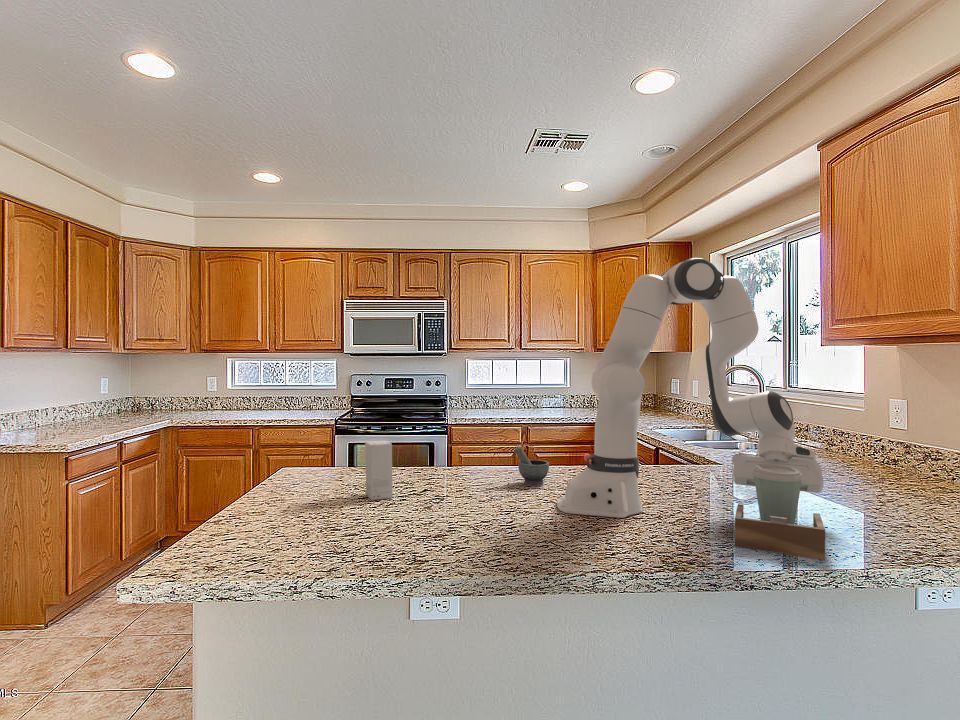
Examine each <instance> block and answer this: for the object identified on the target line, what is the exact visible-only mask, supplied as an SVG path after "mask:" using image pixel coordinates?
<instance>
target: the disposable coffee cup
mask: <svg viewBox="0 0 960 720" xmlns="http://www.w3.org/2000/svg"><path fill="white" fill-rule="evenodd" d="M752 475H753V476H754V481H755V486H754V487H755V494H756V499H757V506H758V512H759V517H760V518H759V520H763V521H770V516H776V517H784V518H787V524H795V525H796V523H795V522H796V518H797V511H798V505H799V499H800V492H801V491H800V488H801V482H802V480H803V477H802V473H801V472H800V471H799V470H797V469H795V468H791V467H788V466H784V465H778V464H772V463H759V464H756V465H755V469H754V470H753V474H752Z"/></svg>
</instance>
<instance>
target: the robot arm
mask: <svg viewBox="0 0 960 720" xmlns="http://www.w3.org/2000/svg"><path fill="white" fill-rule="evenodd" d="M692 303H699V304H700V305H701V306H702V307H703V309H704V310H705V312H706V313H707V317H708V321H709V324H710V327H711V339H710V341H709V343H708V344H707V345H706V347H705V365H706V371H707V379H708V386H709V393H710V394H709V395H710V399H711V400H710V401H711V416H712V422H713V423H712V424H713V426H714V428H715V429H716V430H717V431H718V432H719V433H721V434H723V435H725V436H726V437H734V436H738V435H743V434H745V433H752V432H753V433H754V432H756V431H757V434H758V441H757V453H754V452H738V453H735V454H733V455H732V457H731V463H732V465H733V467H732V474H731V476H732V477H731V478H732V481H733V483H734V484H735V485H737V486H747V487H748V486H749V487H755V481H754V476H753V475H752V474H753V470H754V469H755V465H756V464H759V463H772V464H778V465H784V466H788V467H791V468H795V469H797V470H799V471H800V472H801V473H802V477H803V480H802V482H801V488H800V492H805V493H815V494H819V493H822V492H823V490H824V476H823V471H822V468H821V465H820V463H819V461H817V459H816V458H817V456H816V452H815V451H814V449H809V448H806V447H803V446H800V445H797V444H795V441H794V439H795V437H796V429H795V421H794V417H793V415H794V414H793V410H792V407H791V405H790V403H789V402H788V400H787V399H786V398H785V397H783V396H782V395H781V394H780V393H777V392H775V391H773V390H769V391H763V392H758V393H752V394H748V395H743V396H739V397H731V396H730V393H729V387H728V379H727V373H726V372H727V371H726V368H727V364H728V363H729V361H730V360H731V359H732V358H733V357H735V356H737V355H738V354H739V353H741V352H742V351H744V350H745V349H747V348H748V347H749V346H750V345H751V344H752V343H753V342H754V341H755V339H756V338H757V336H758V333H759V324H758V323H759V322H758V318H757V314H756V313H755V309H754V307H753V304H752V301H751V299H750V296H749V294H748V293H747V291H746V289H745V287H744V285H743V284H742V282H741V280H740V279H738V278H737V277H736V276H731V275H724V274H723V273H721V271H719V269H718V268H717V267H716V266H715V265H714V263H712V262H711V261H709V260H707V259H705V258H701V257H691V258H688V259H686V260H684V261H681V262H679V263H677V264H675V265H673V266H672V267H671V268H669V269H667V270H666V271H665V272H664V273H662V274H661V275H660V276H659V275H656V274H650V273H649V274H648V273H647V274H643V275H640V276H638V277H637V278H636V280H635V281H634V283H633V284H632V286H631V287H630V288H629V291H628V293H627V295H626V297H625V299H624V301H623V303H622V307H621V309H620V311H619V314H618V316H617V320H616V322H615V325H614V327H613V330H612V332H611V335H610V338H609V339H608V341H607V344H606V346H605V347H604V349H603V352H602V354H601V356H600V358H599V361H598V363H597V364H596V367H595V369H594V371H593V373H592V376H591V387H592V390H593V392H594V394H595V395H596V396H597V397H598V404H597V412H596V418H595V423H594V453H593V454H591V455H590V453H585V454H584V455H583V459H584V462H586V468H585V469H584V470H582V471H581V472H580V473H578V474H577V475H575V476H574V477H572V478H571V479H570V480H569V481H568V483H567V485H566V488H565V492H564V493H565V494H564V496H561V497H559V498H557V502H556V507H557V509H558V510H559V511H561V512H563V513H565V514H570V515H571V514H573V515H584V516H586V515H587V516H598V517H608V518H620V519H623V518H626V517H628V516H632V515H637V514H640V513H642V512H643V511H644V508H643V505H642V502H641V501H642V500H641V495H640V492H639V491H640V490H639V481H638V478H639V474H640V460H639V456H638V423H639V419H640V418H639V417H640V413H641V407H642V406H641V405H642V398H643V393H644V391H645V380H644V377H643V375H642V373H641V372H640V369H641V367H642V365H644V362H645V360H646V358H647V357H648V355H649V354H650V353H651V351H652V349H653V348H654V347H653V346H654V344H655V341H656V338H657V336H658V333H659V330H660V329H661V325H662V323H663V320H664V318H665V314H666V311H667V309H668V308H669V306H670V305H676V306H679V305H686V304H692Z"/></svg>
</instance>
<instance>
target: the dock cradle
mask: <svg viewBox="0 0 960 720" xmlns="http://www.w3.org/2000/svg"><path fill="white" fill-rule="evenodd" d="M812 517H813V518H812V520H813V521H812V524H813V525H812V526H809V525H808V526H807V525H801V524H796V523H795V524H787V518H784V517H776V516H770V521H763V520H761V519H754V518H746V517H744V504H741V503H740V504H739V503H738V504H737V507H736V511H735V515H734V547H737V548H744V549H749V548H750V549H751V550H757V551H763V552H771V553H778V554H783V555H791V556H795V557H803V558H808V559H816V560H821V561H822V560H823V561H825V560H826V528H825V526H824V523H823V520H822V516H821V513H815V512H813V516H812Z"/></svg>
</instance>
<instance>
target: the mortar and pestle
mask: <svg viewBox="0 0 960 720" xmlns="http://www.w3.org/2000/svg"><path fill="white" fill-rule="evenodd" d="M514 453H516V455H517V458H518V460H519V461H518V471H519V473H520V476H521V477H522V478H523V479H524V480H523V485H525V486H527V487H528V486H529V487H541V486H544V479H545V478H546V477H547V475H548V474H549V470H550V462H549V461H547V460H541V459H529V458H528V456H527V454H526V453H525V452H524V448H523V446H521V445H520V446H518V447H516V448H514Z"/></svg>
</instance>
